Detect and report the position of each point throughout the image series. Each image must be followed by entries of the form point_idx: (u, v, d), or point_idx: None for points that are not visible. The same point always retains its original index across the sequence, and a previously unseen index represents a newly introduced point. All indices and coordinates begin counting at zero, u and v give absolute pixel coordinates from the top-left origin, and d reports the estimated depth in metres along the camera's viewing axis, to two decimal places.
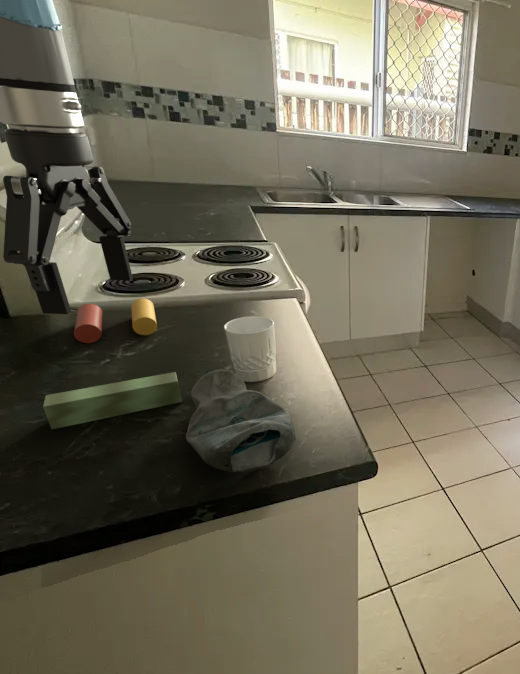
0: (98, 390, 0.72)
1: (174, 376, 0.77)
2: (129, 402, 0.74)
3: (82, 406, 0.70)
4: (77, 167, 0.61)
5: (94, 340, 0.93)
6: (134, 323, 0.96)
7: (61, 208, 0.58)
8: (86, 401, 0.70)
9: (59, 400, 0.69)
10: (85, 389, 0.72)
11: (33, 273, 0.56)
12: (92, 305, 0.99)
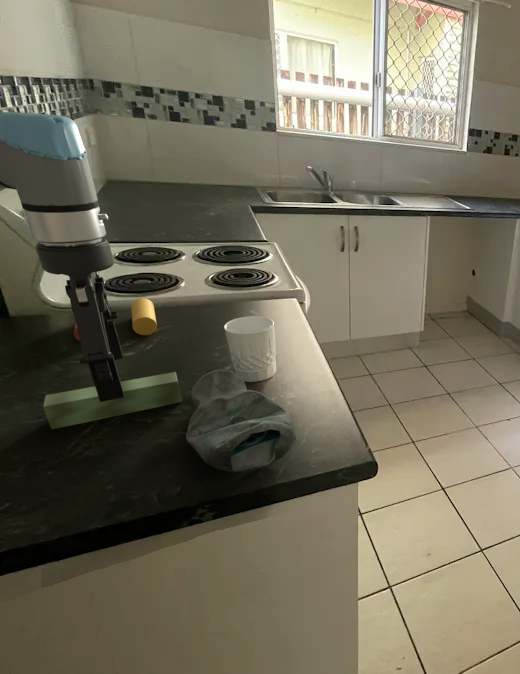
0: None
1: (174, 376, 0.77)
2: (129, 402, 0.74)
3: (82, 406, 0.70)
4: None
5: None
6: (134, 323, 0.96)
7: (104, 307, 0.66)
8: (86, 401, 0.70)
9: (59, 400, 0.69)
10: (85, 389, 0.72)
11: (100, 368, 0.64)
12: None
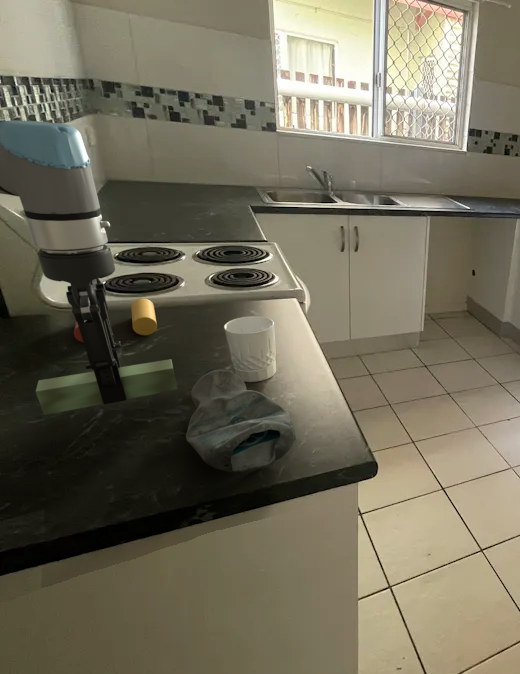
0: (92, 376, 0.71)
1: (169, 363, 0.77)
2: (124, 389, 0.73)
3: (76, 391, 0.69)
4: None
5: None
6: (134, 323, 0.96)
7: (107, 315, 0.67)
8: (80, 386, 0.69)
9: (52, 385, 0.68)
10: (79, 374, 0.71)
11: (105, 373, 0.69)
12: None
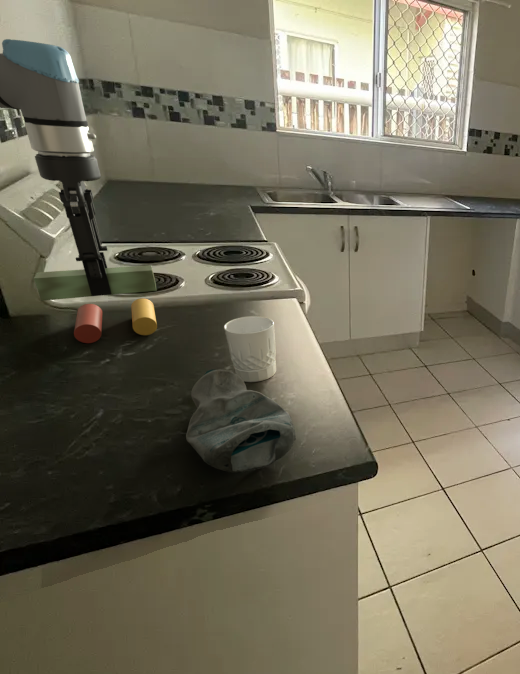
0: (82, 271, 0.83)
1: (149, 267, 0.89)
2: (109, 285, 0.85)
3: (68, 282, 0.81)
4: (82, 181, 0.80)
5: (94, 340, 0.93)
6: (134, 323, 0.96)
7: (93, 216, 0.80)
8: (71, 278, 0.81)
9: (48, 275, 0.80)
10: (71, 270, 0.83)
11: (92, 266, 0.81)
12: (92, 305, 0.99)
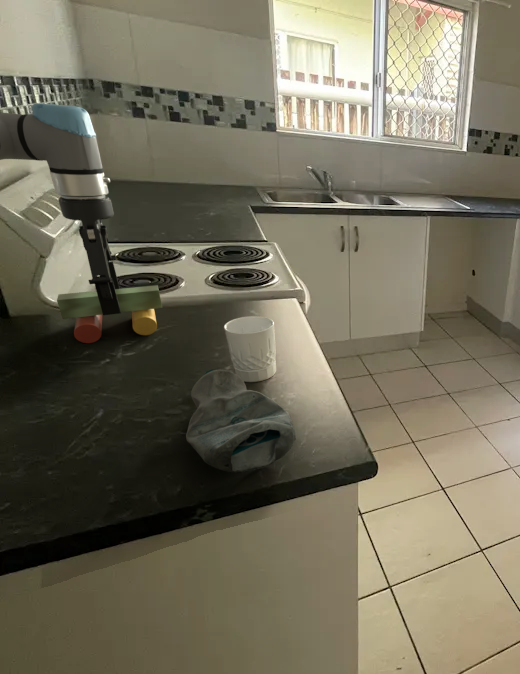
0: None
1: (156, 287, 1.01)
2: (121, 304, 0.97)
3: (86, 302, 0.93)
4: None
5: (94, 340, 0.93)
6: (134, 323, 0.96)
7: (107, 246, 0.90)
8: (89, 299, 0.93)
9: (68, 297, 0.92)
10: (88, 292, 0.95)
11: (104, 288, 0.89)
12: None
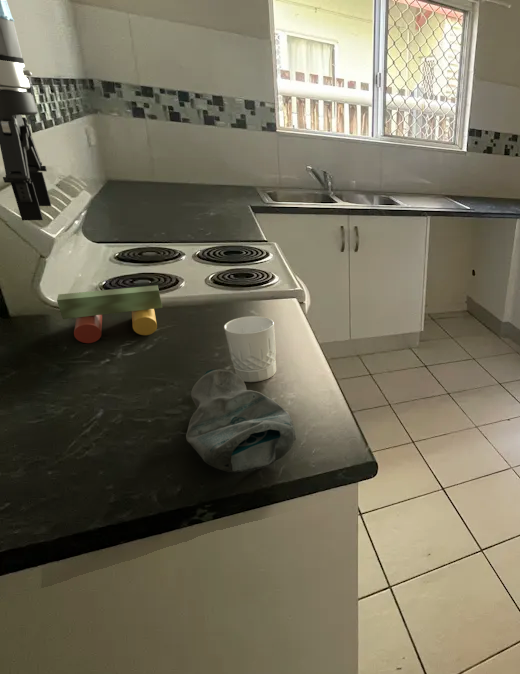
0: (97, 293, 0.95)
1: (156, 287, 1.01)
2: (121, 304, 0.97)
3: (86, 302, 0.93)
4: (20, 116, 0.86)
5: (94, 340, 0.93)
6: (134, 323, 0.96)
7: (27, 144, 0.84)
8: (89, 299, 0.93)
9: (68, 297, 0.92)
10: (88, 292, 0.95)
11: (21, 189, 0.82)
12: None
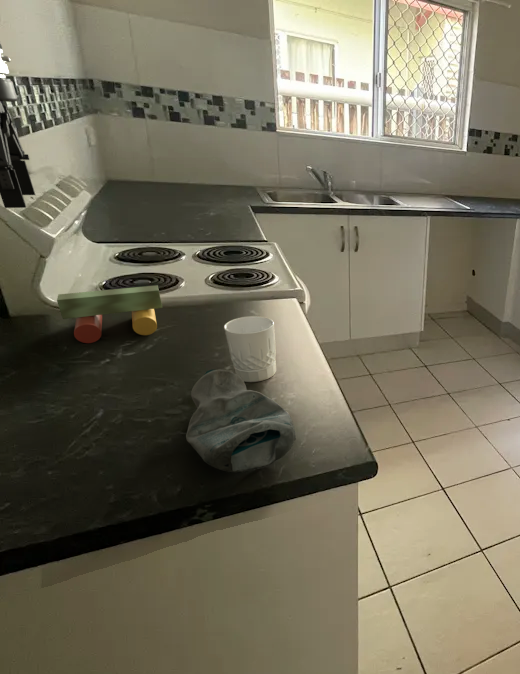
0: (97, 293, 0.95)
1: (156, 287, 1.01)
2: (121, 304, 0.97)
3: (86, 302, 0.93)
4: (0, 103, 0.85)
5: (94, 340, 0.93)
6: (134, 323, 0.96)
7: (8, 131, 0.83)
8: (89, 299, 0.93)
9: (68, 297, 0.92)
10: (88, 292, 0.95)
11: (3, 176, 0.82)
12: None
